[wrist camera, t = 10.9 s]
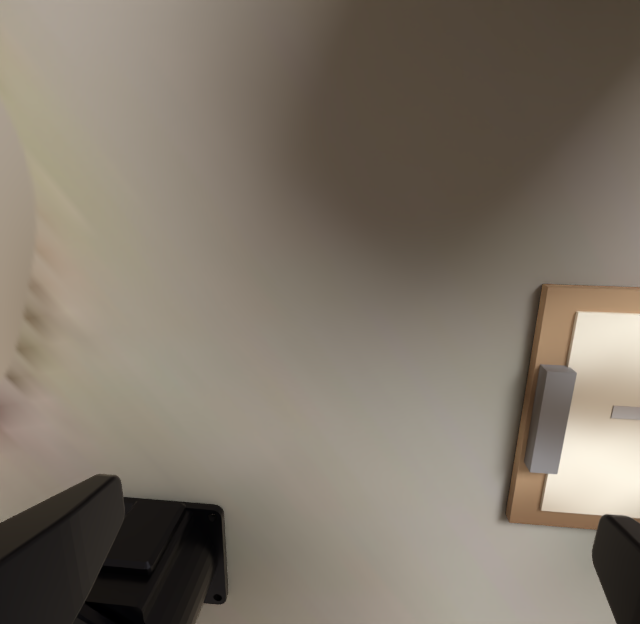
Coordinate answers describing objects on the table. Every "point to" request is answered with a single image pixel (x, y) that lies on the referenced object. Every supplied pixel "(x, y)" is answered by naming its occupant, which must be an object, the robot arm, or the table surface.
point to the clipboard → (580, 410)
